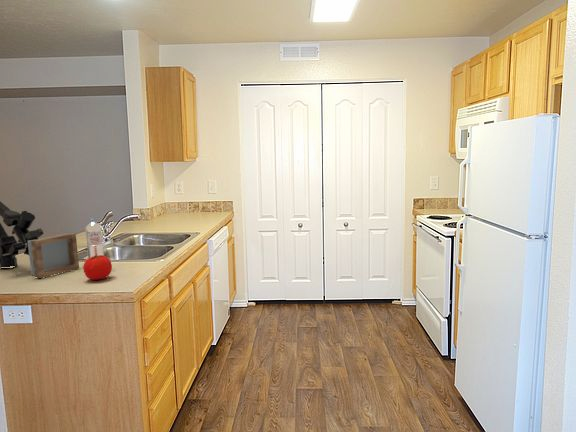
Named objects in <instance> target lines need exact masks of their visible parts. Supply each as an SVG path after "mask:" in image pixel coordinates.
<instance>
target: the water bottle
mask: <svg viewBox="0 0 576 432" xmlns="http://www.w3.org/2000/svg"><path fill="white" fill-rule="evenodd" d="M89 221H90V222H89V223H88V224H87V225H86V227H85V236H86V248H87V250H86V251H87V259H88V258H90V257H92V256H95V255H96V254H97V256H99V255H103V256H105V255H104V246H103V245H104V243H103V236H102V234H103V233H102V226H101V225H99V223H98V222H96V219H95V218H90V220H89Z"/></svg>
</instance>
